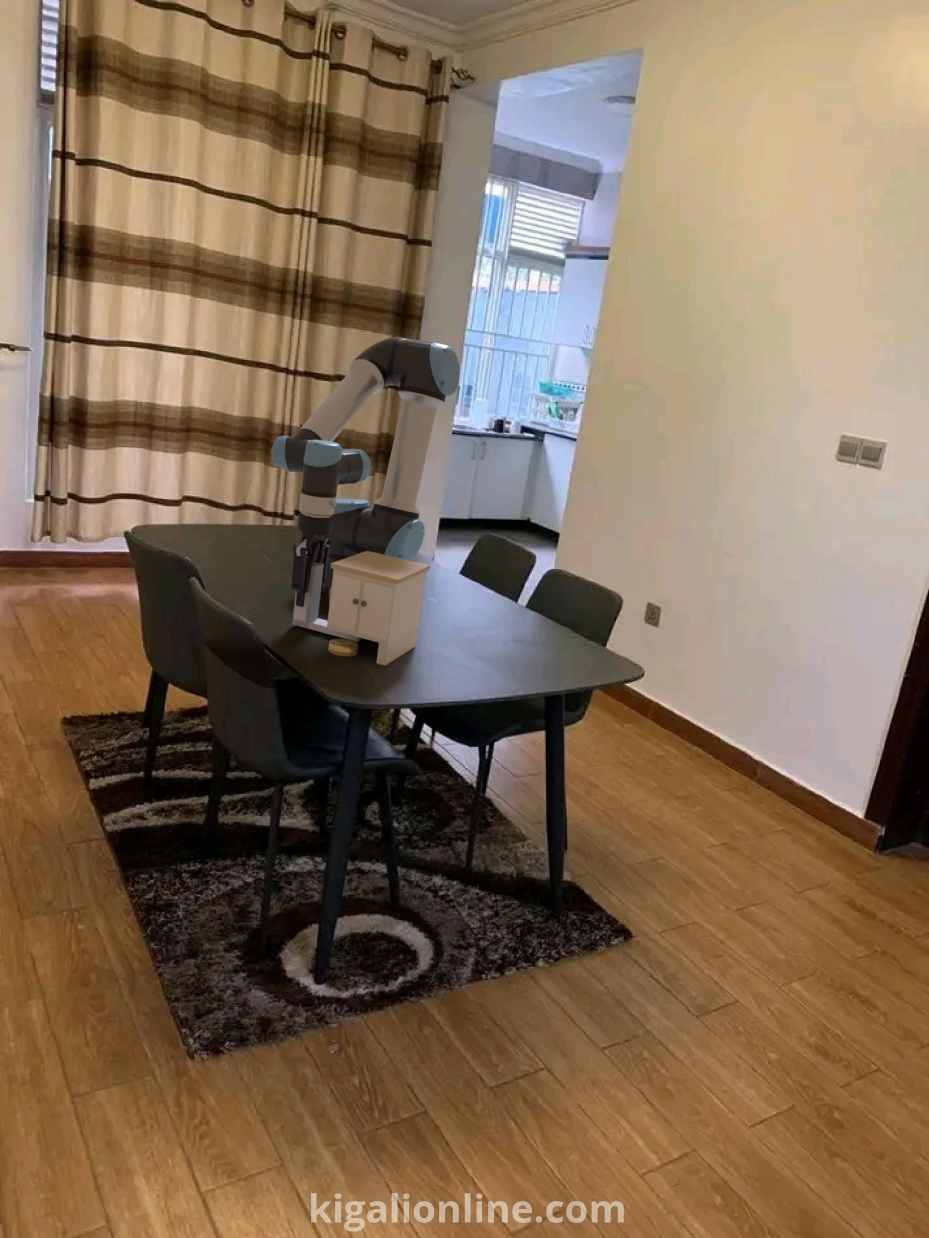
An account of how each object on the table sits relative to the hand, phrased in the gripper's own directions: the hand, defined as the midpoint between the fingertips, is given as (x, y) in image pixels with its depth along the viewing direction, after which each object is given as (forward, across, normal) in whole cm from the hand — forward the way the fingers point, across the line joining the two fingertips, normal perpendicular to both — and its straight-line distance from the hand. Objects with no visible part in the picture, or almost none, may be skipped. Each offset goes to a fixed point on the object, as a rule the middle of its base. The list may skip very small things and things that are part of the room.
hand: (305, 617), depth 206 cm
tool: (+2, 0, -6) cm, 6 cm away
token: (+2, -8, -14) cm, 16 cm away
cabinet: (+2, -2, -17) cm, 18 cm away
